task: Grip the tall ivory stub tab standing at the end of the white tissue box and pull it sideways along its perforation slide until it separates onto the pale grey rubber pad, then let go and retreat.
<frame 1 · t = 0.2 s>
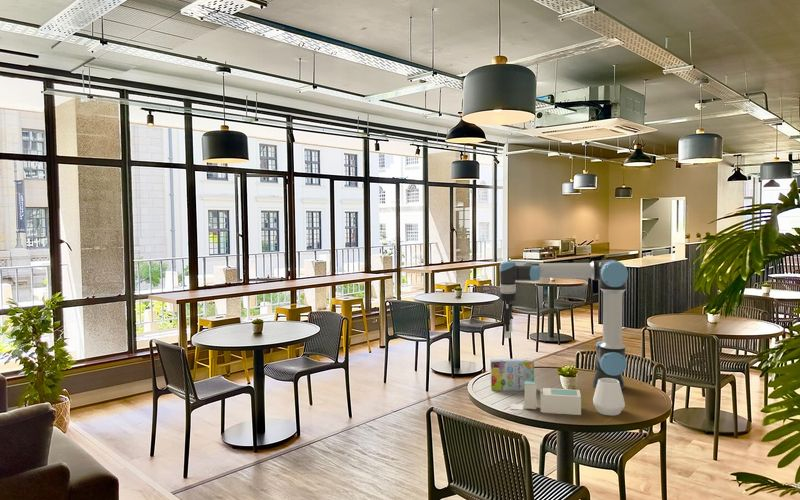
hand: (508, 334, 278), 28 cm above the table, fingers open, 13 cm apart
pad: (516, 407, 253), on the table
white tissue box: (560, 409, 248), on the table
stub: (530, 394, 251), point 6 cm above the table, slide at 0.0 cm
white vase: (608, 412, 245), on the table
snack box: (512, 389, 279), on the table
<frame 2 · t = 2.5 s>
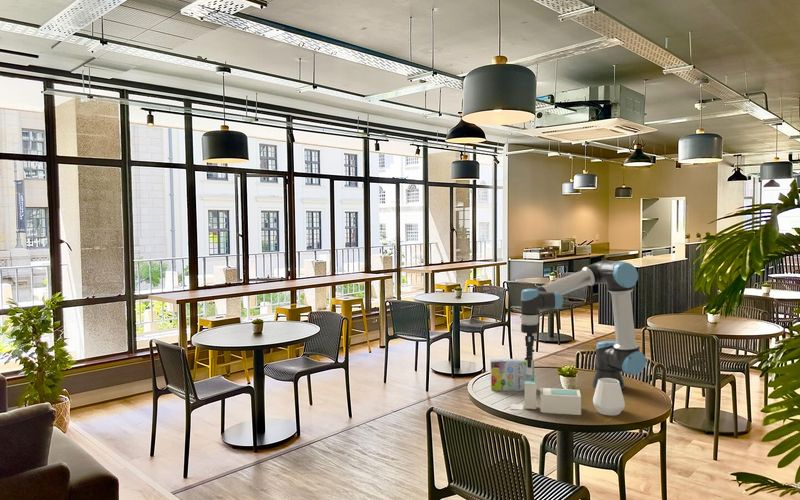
hand: (529, 370, 250), 17 cm above the table, fingers open, 13 cm apart
nothing on the table moved.
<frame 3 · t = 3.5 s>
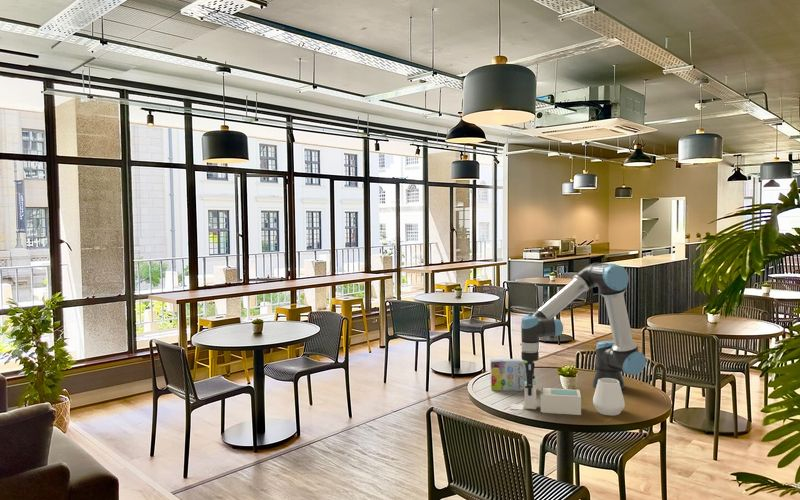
hand: (530, 397, 251), 5 cm above the table, fingers open, 13 cm apart
nothing on the table moved.
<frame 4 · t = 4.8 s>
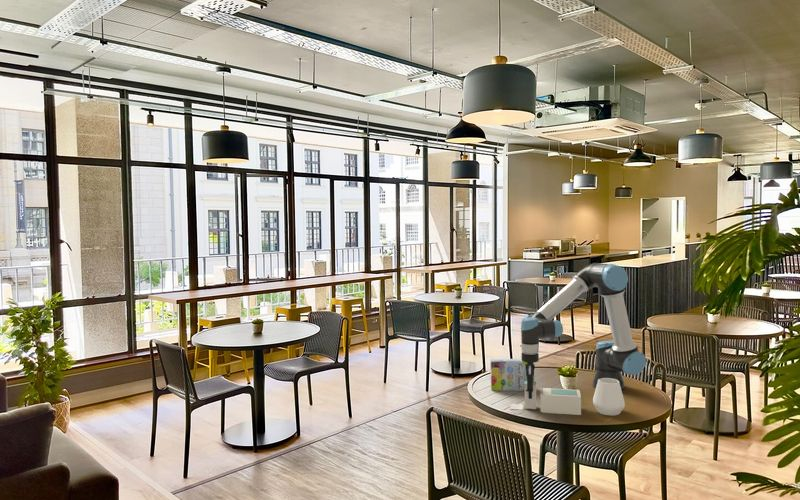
hand: (530, 403, 251), 2 cm above the table, fingers closed on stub, 4 cm apart
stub: (530, 394, 251), point 6 cm above the table, slide at 0.0 cm, touching gripper
everything else where it was.
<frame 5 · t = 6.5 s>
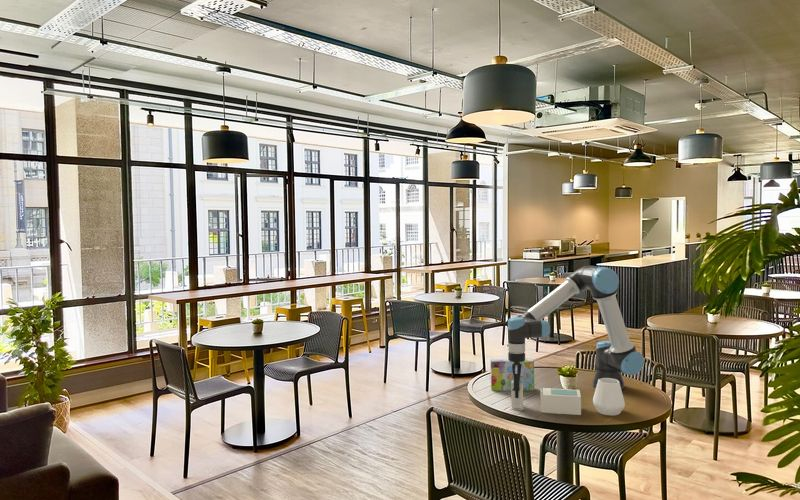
hand: (517, 402, 253), 2 cm above the table, fingers closed on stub, 4 cm apart
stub: (517, 394, 253), point 6 cm above the table, slide at 5.9 cm, touching gripper
everything else where it was.
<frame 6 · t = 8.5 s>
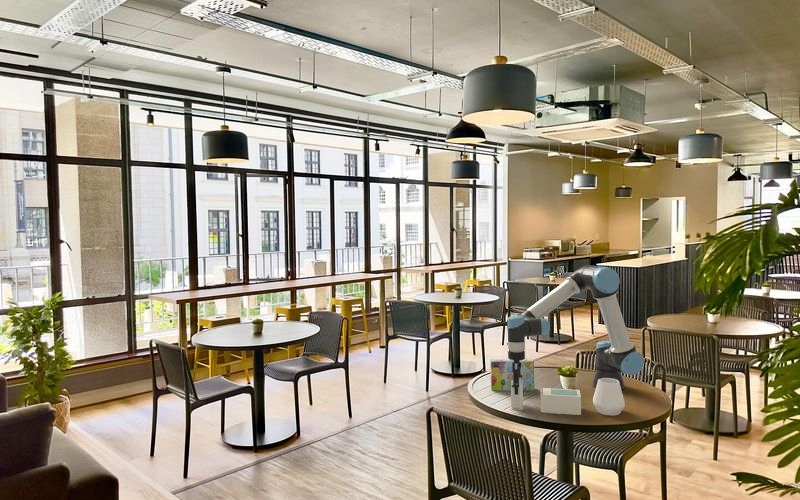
hand: (517, 396, 253), 5 cm above the table, fingers open, 13 cm apart
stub: (516, 394, 253), point 6 cm above the table, slide at 6.0 cm
everything else where it was.
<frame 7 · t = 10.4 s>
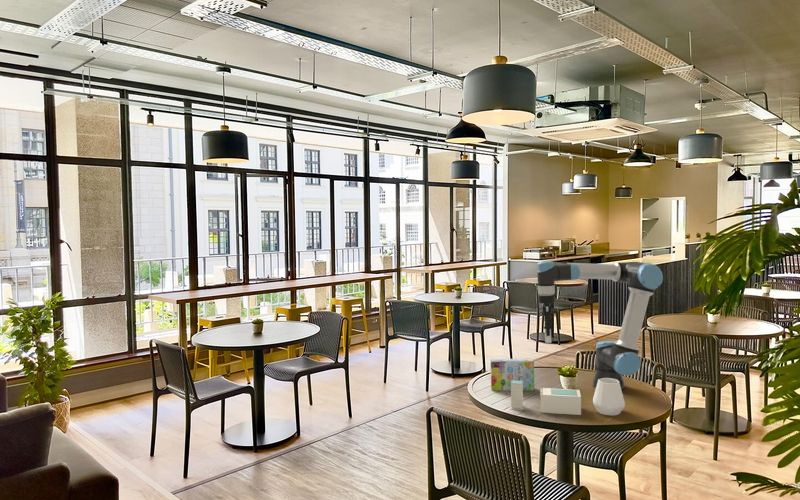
hand: (548, 339, 261), 29 cm above the table, fingers open, 13 cm apart
nothing on the table moved.
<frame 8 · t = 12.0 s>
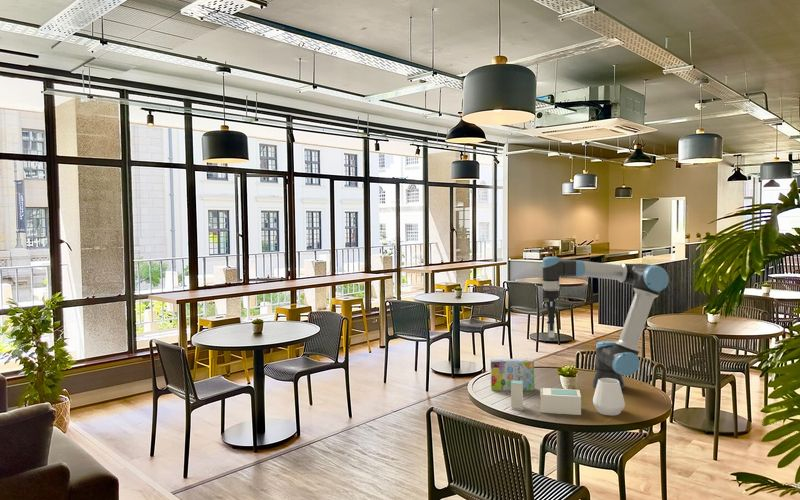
hand: (551, 334, 262), 31 cm above the table, fingers open, 13 cm apart
nothing on the table moved.
at the end: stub slide at 6.0 cm; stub 0.2 cm from the target spot, resting on pad; the gripper is holding nothing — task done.
